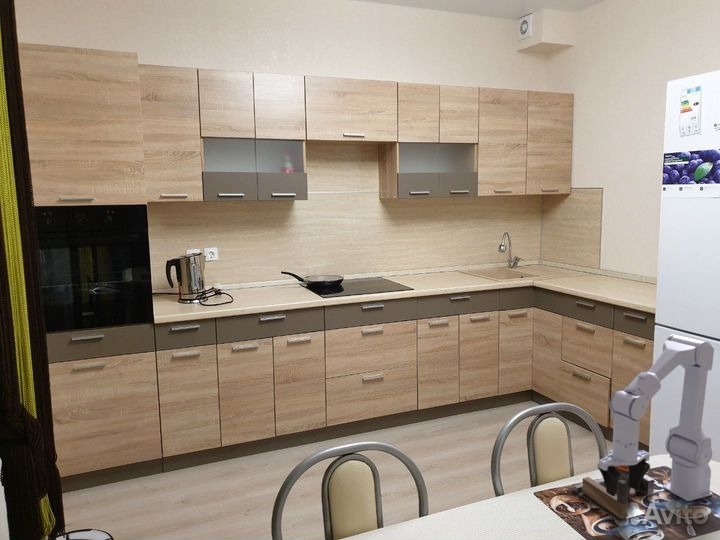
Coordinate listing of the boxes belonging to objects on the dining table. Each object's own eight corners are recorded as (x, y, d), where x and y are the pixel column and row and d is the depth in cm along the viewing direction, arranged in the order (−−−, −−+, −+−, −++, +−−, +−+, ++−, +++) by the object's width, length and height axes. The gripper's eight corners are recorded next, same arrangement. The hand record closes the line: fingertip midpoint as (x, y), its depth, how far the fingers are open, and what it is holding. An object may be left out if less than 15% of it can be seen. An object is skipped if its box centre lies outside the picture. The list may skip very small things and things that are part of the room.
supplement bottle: (639, 498, 146) (641, 459, 145) (615, 496, 148) (617, 457, 146) (633, 487, 152) (635, 449, 151) (610, 485, 153) (612, 447, 152)
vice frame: (624, 477, 157) (625, 463, 157) (672, 506, 143) (673, 490, 142) (573, 490, 151) (573, 475, 150) (618, 521, 136) (619, 504, 136)
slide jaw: (588, 490, 150) (589, 459, 149) (628, 517, 137) (630, 483, 136) (581, 492, 149) (583, 461, 148) (621, 519, 136) (623, 485, 135)
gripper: (634, 429, 141) (631, 478, 143) (590, 437, 136) (587, 488, 138) (657, 440, 135) (654, 491, 137) (612, 449, 130) (609, 503, 132)
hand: (622, 491), depth 137 cm, fingers open, 7 cm apart
